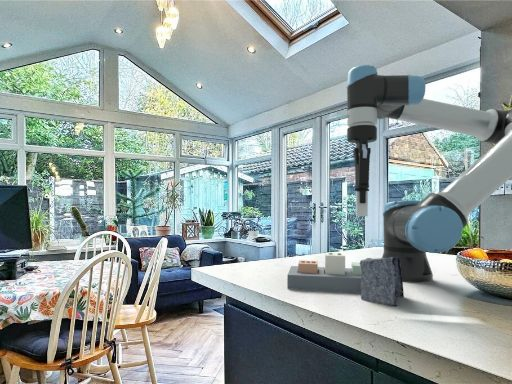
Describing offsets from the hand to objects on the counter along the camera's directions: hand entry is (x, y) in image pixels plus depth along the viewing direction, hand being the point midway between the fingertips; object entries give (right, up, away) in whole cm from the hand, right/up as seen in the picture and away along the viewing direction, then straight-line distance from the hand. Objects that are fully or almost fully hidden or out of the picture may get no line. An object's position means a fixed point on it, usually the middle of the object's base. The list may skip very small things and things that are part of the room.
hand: (361, 216), depth 91 cm
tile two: (-7, -15, +1) cm, 17 cm away
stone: (+1, -20, -11) cm, 23 cm away
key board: (-7, -19, +1) cm, 21 cm away
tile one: (0, -18, -1) cm, 18 cm away
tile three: (-14, -18, +2) cm, 22 cm away
